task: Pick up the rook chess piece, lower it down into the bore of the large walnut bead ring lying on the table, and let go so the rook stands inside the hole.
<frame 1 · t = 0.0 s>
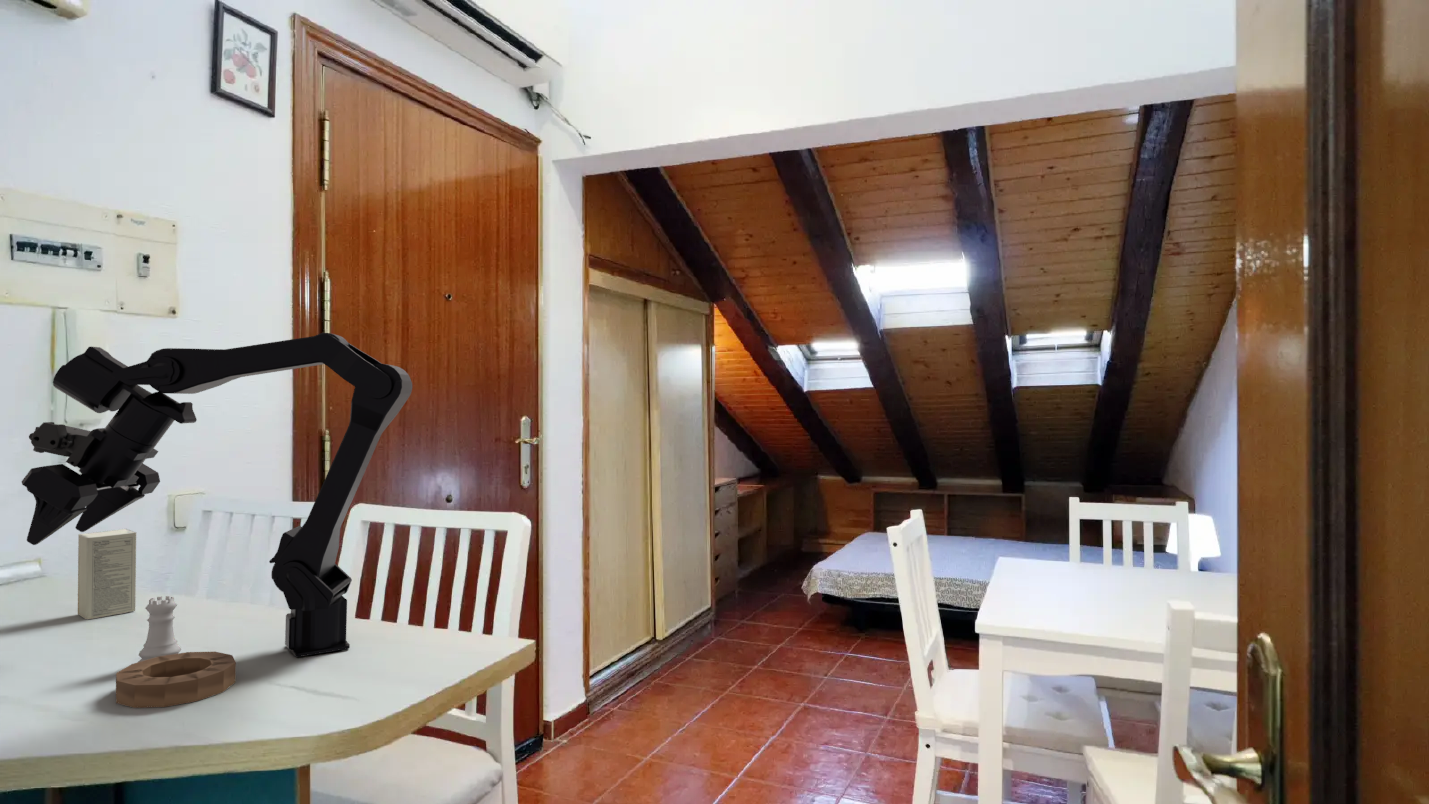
hand: (56, 536, 99), 15 cm above the table, tool tilted 35°, fingers open, 9 cm apart
skincare box: (106, 614, 117), on the table
rook chess piece: (159, 664, 97), on the table
walnut bead ring: (177, 688, 89), on the table
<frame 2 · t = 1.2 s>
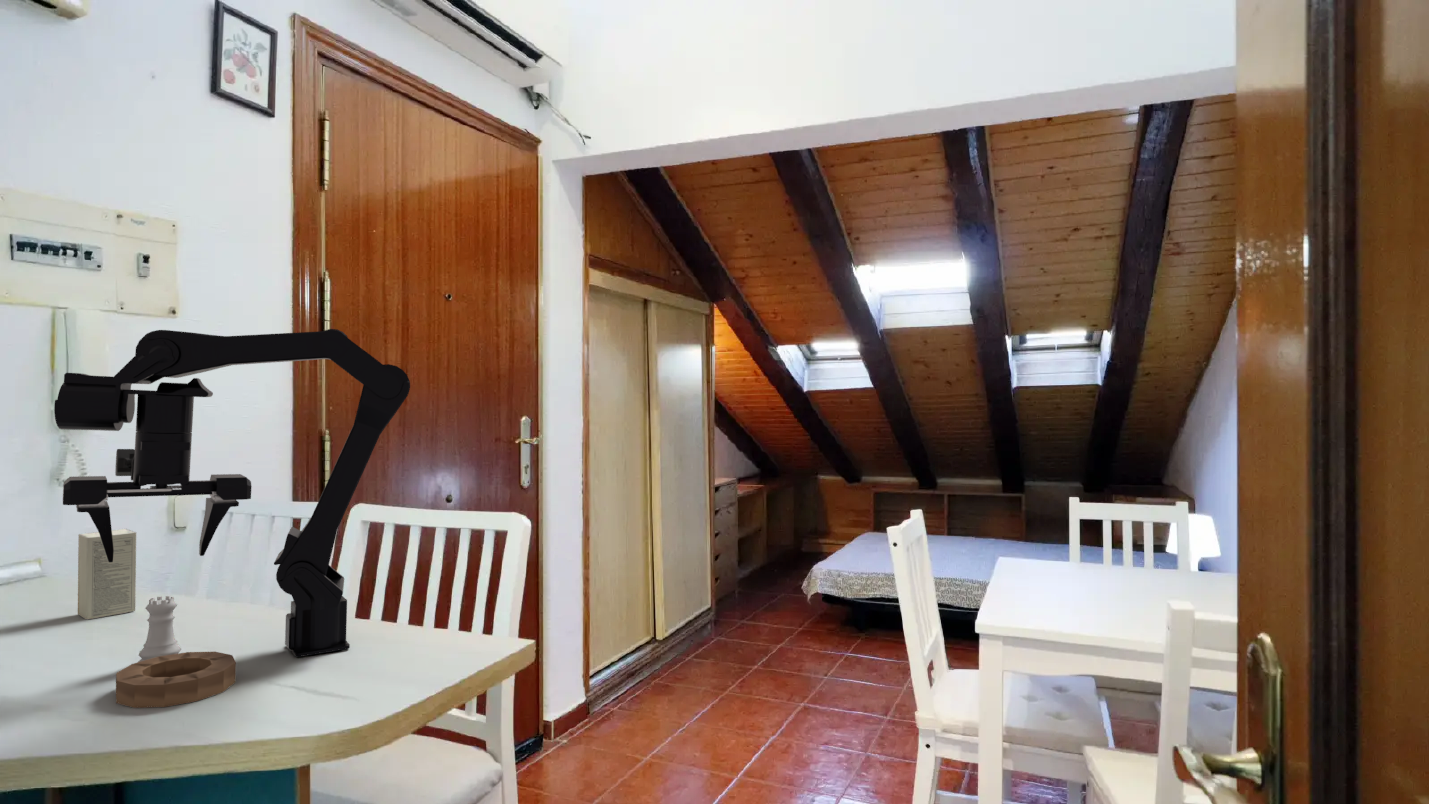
hand: (157, 558, 97), 13 cm above the table, tool pointing down, fingers open, 9 cm apart
nothing on the table moved.
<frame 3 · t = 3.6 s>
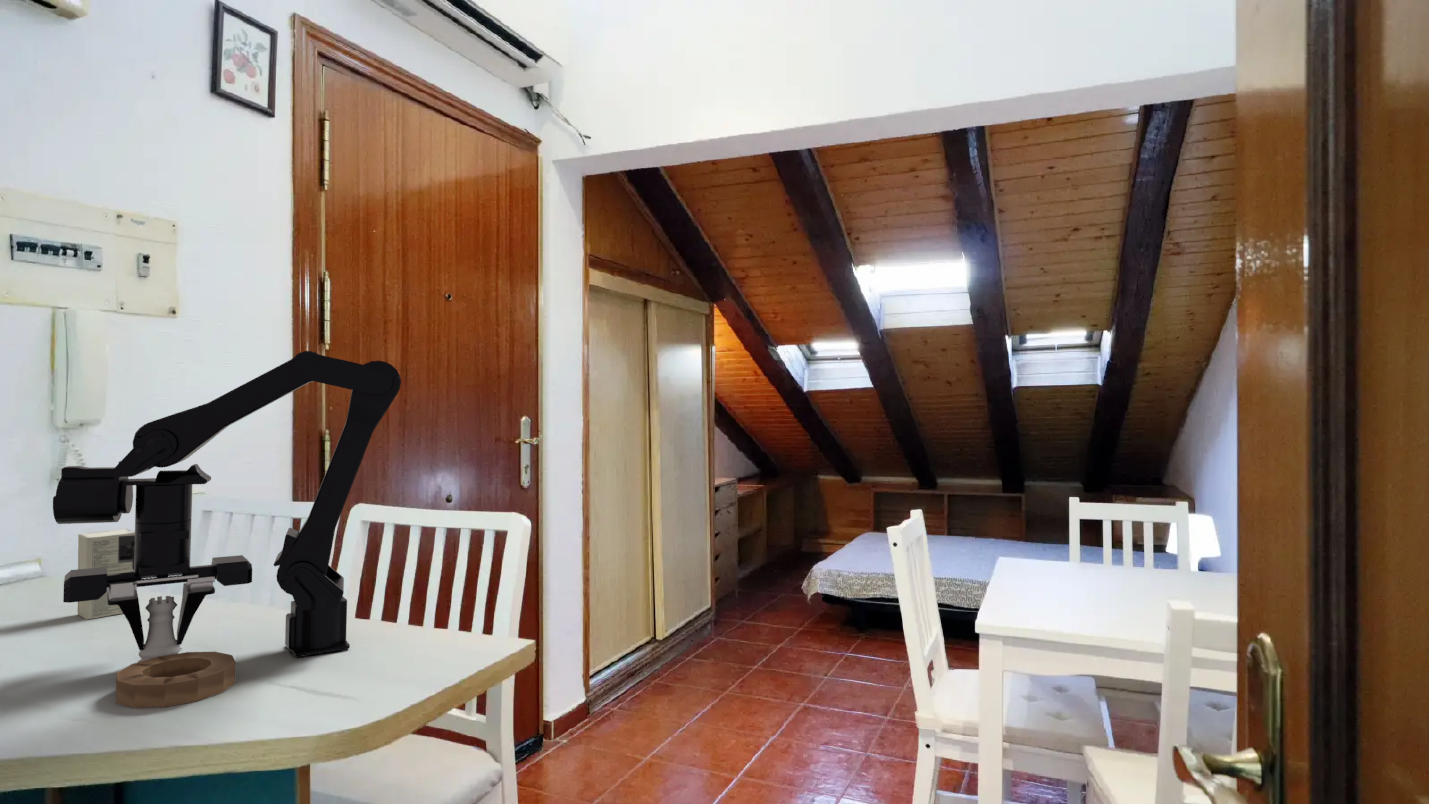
hand: (160, 646, 97), 2 cm above the table, tool pointing down, fingers closed on rook chess piece, 3 cm apart
rook chess piece: (159, 664, 97), on the table, touching gripper
everything else where it was.
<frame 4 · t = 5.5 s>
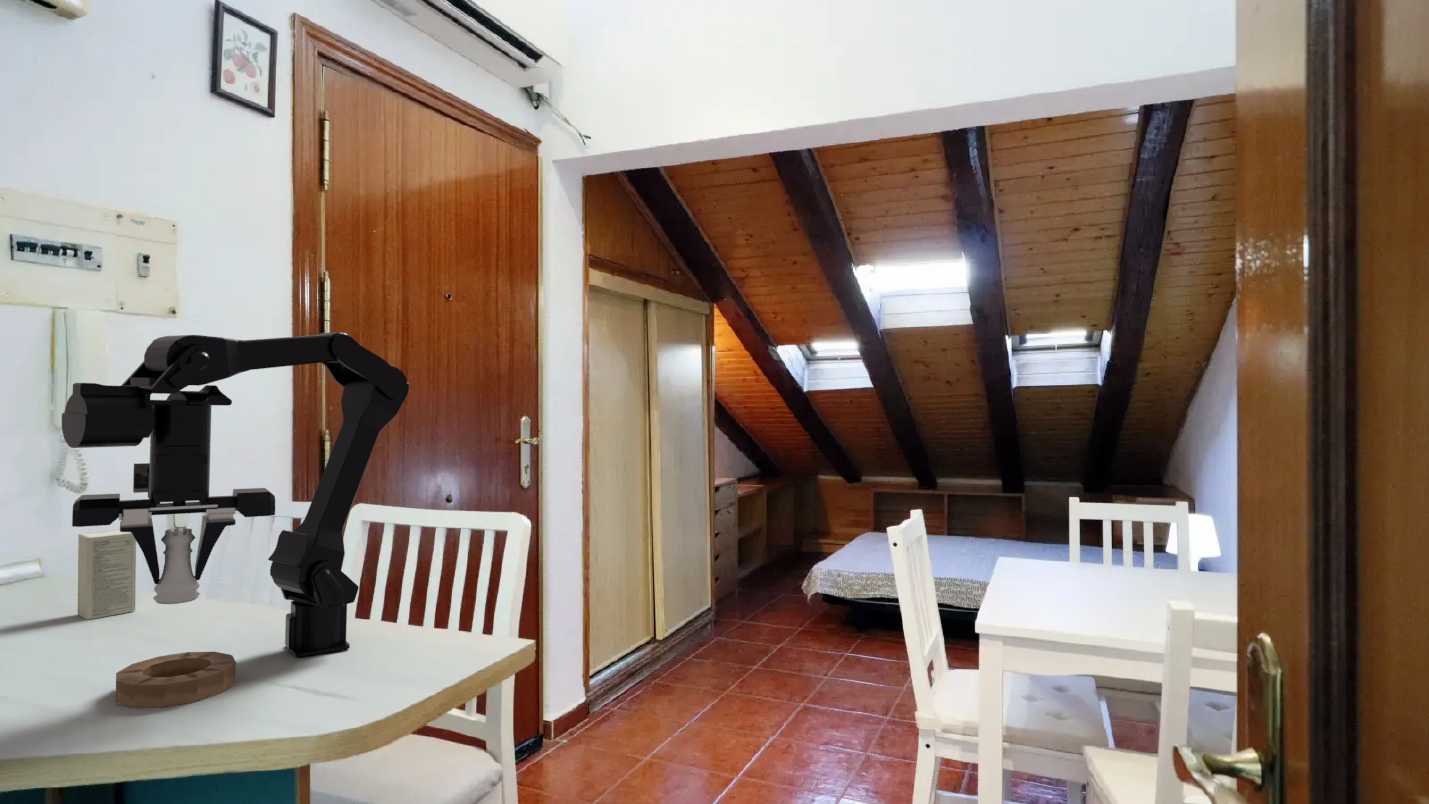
hand: (177, 581, 90), 12 cm above the table, tool pointing down, fingers closed on rook chess piece, 3 cm apart
rook chess piece: (176, 601, 90), point 10 cm above the table, touching gripper
everything else where it was.
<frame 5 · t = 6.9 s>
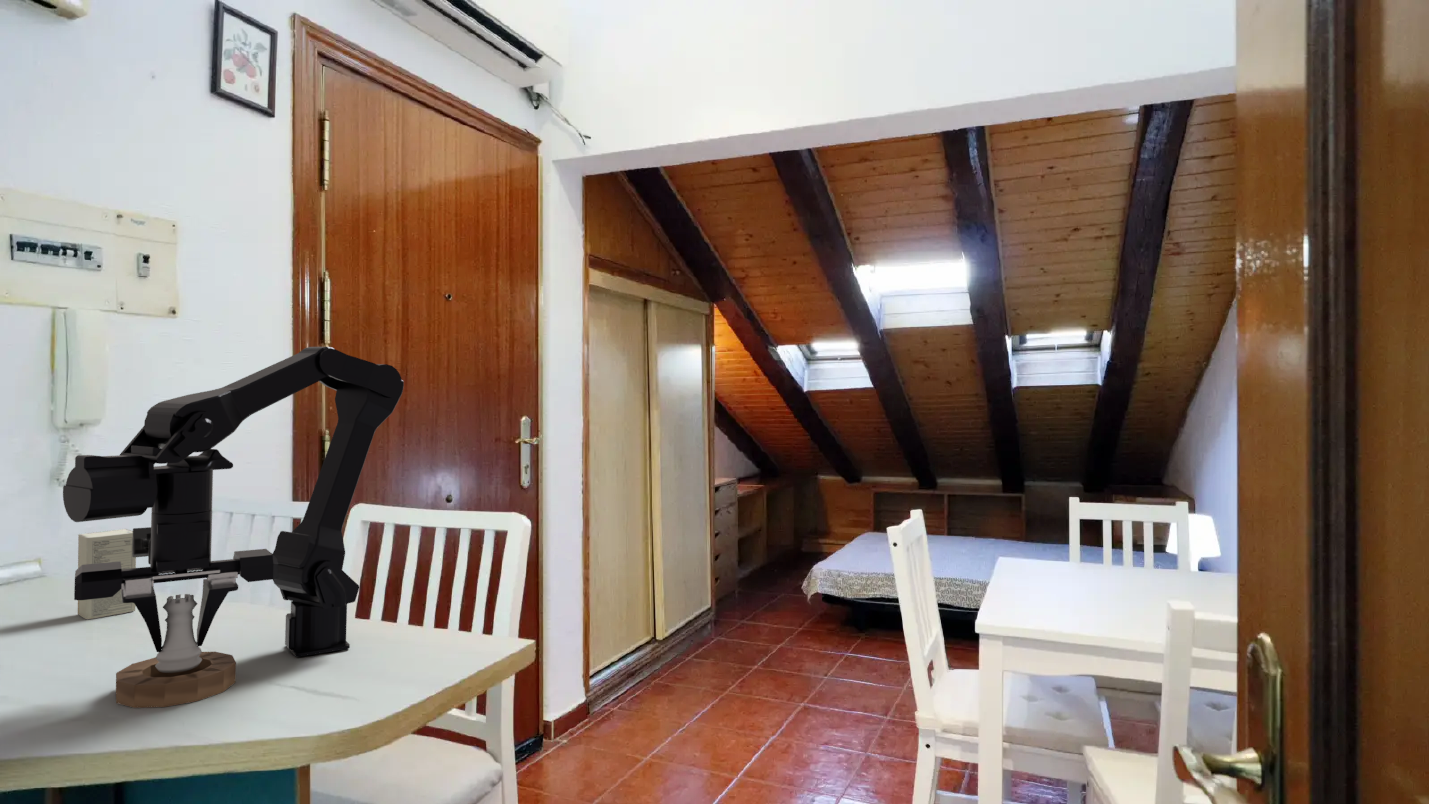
hand: (179, 648, 89), 5 cm above the table, tool pointing down, fingers closed on rook chess piece, 3 cm apart
rook chess piece: (178, 668, 89), point 2 cm above the table, touching gripper
everything else where it was.
when the fingers open (3 cm above the table, at t = 7.9 s): rook chess piece drops 1 cm, resting in walnut bead ring.
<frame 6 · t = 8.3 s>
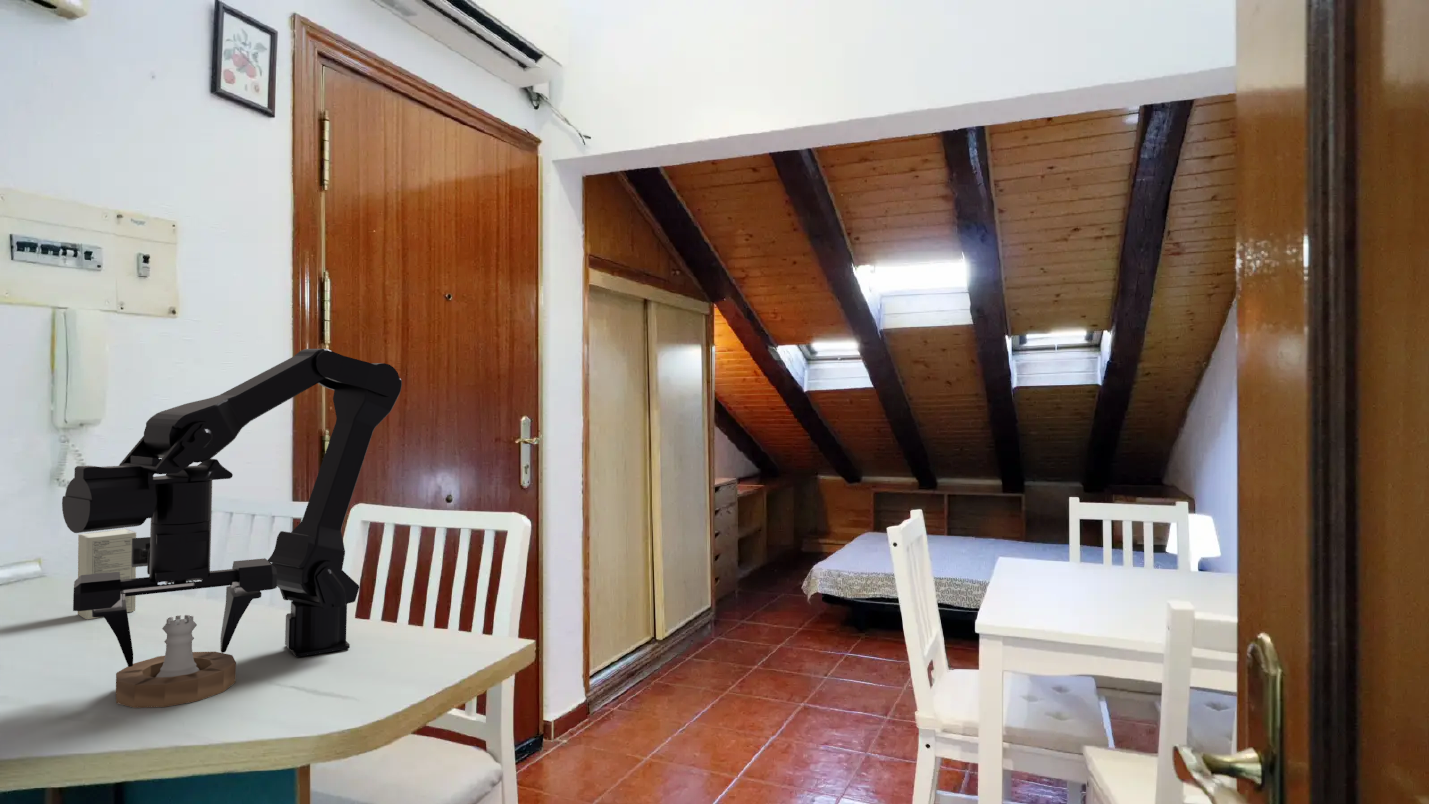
hand: (178, 658, 89), 3 cm above the table, tool pointing down, fingers open, 8 cm apart
rook chess piece: (177, 690, 89), resting in walnut bead ring
everything else where it was.
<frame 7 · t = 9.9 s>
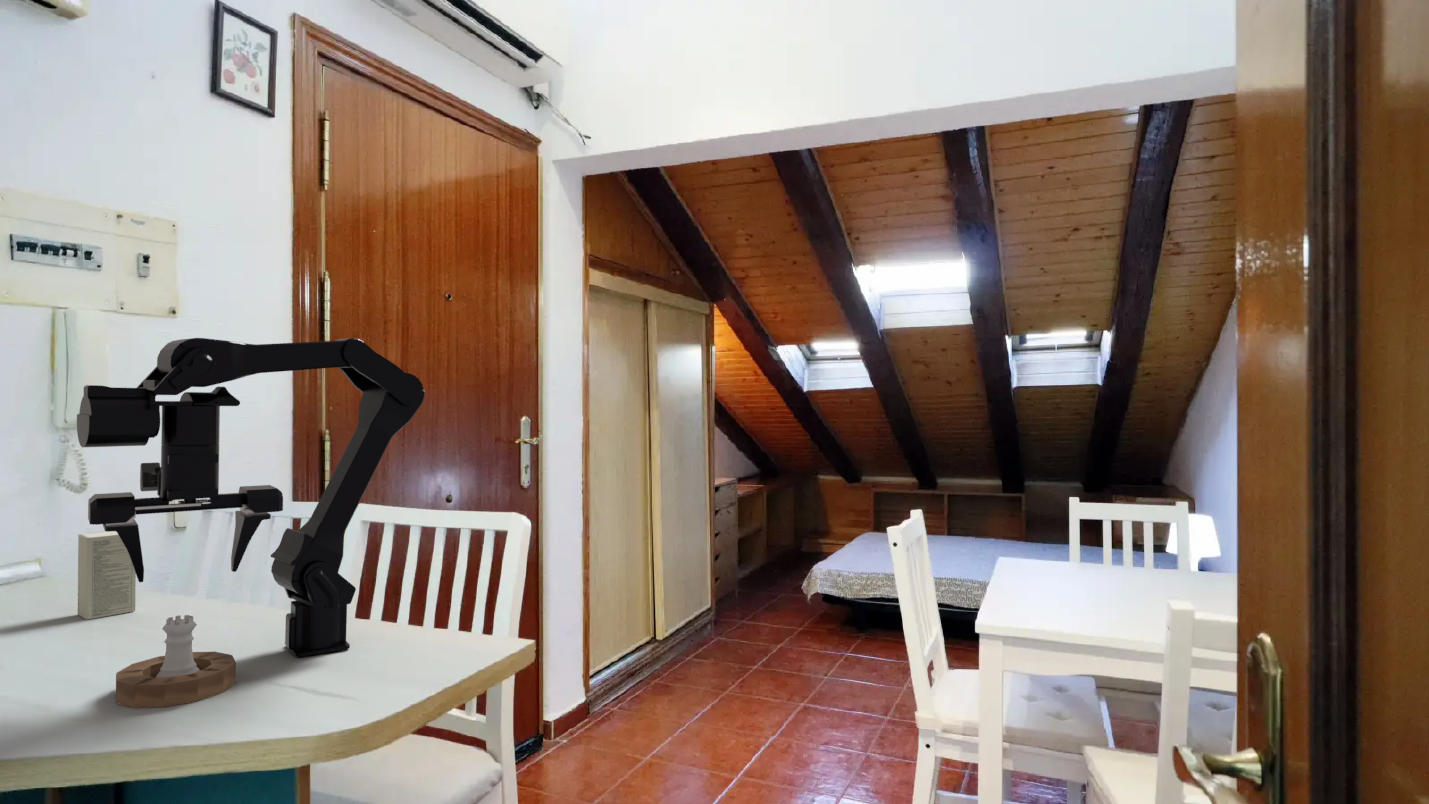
hand: (188, 576, 93), 12 cm above the table, tool pointing down, fingers open, 9 cm apart
nothing on the table moved.
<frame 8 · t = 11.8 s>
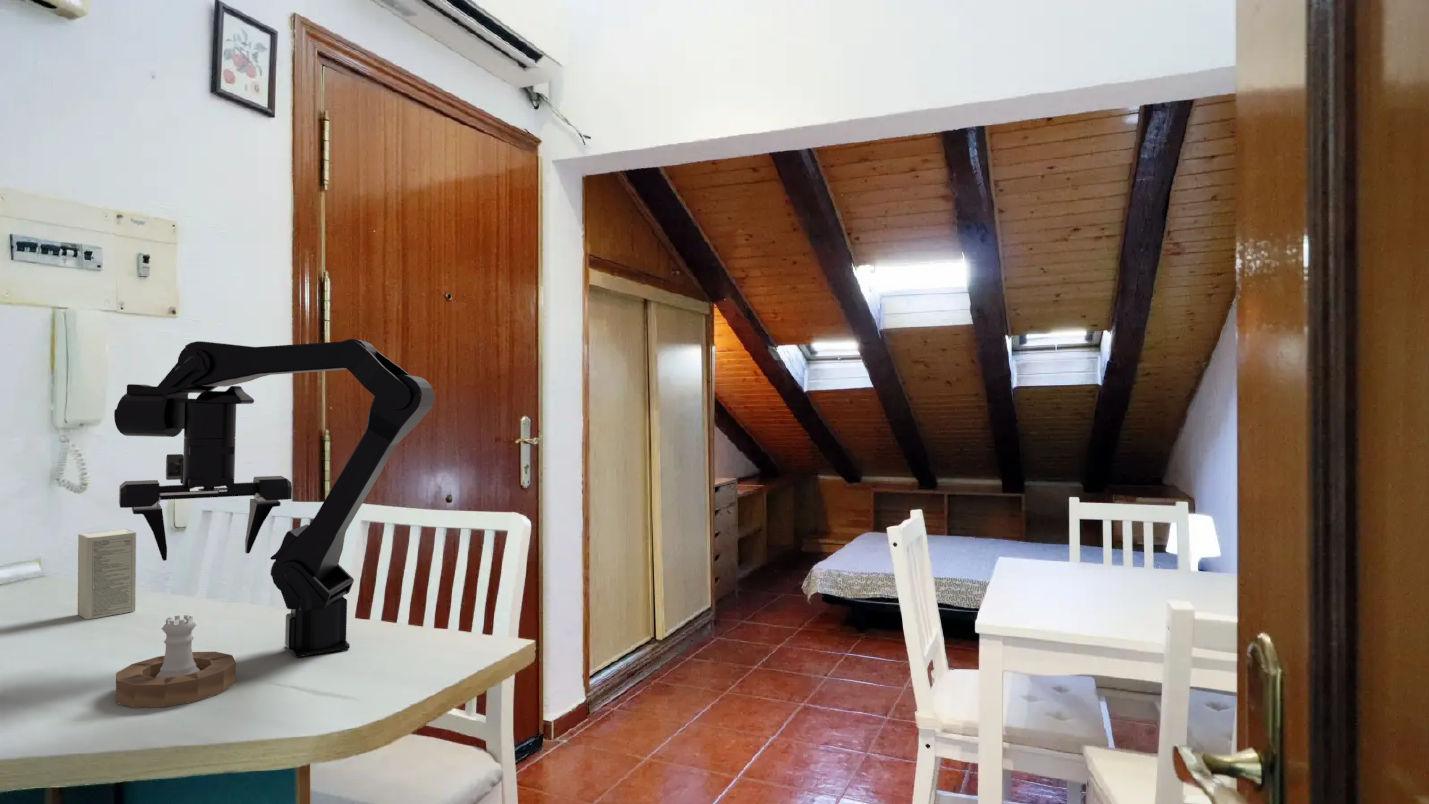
hand: (207, 556, 103), 12 cm above the table, tool pointing down, fingers open, 9 cm apart
nothing on the table moved.
at the end: rook chess piece 0.1 cm from the walnut bead ring (horizontally); rook chess piece resting in walnut bead ring; rook chess piece tilted 0° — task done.
